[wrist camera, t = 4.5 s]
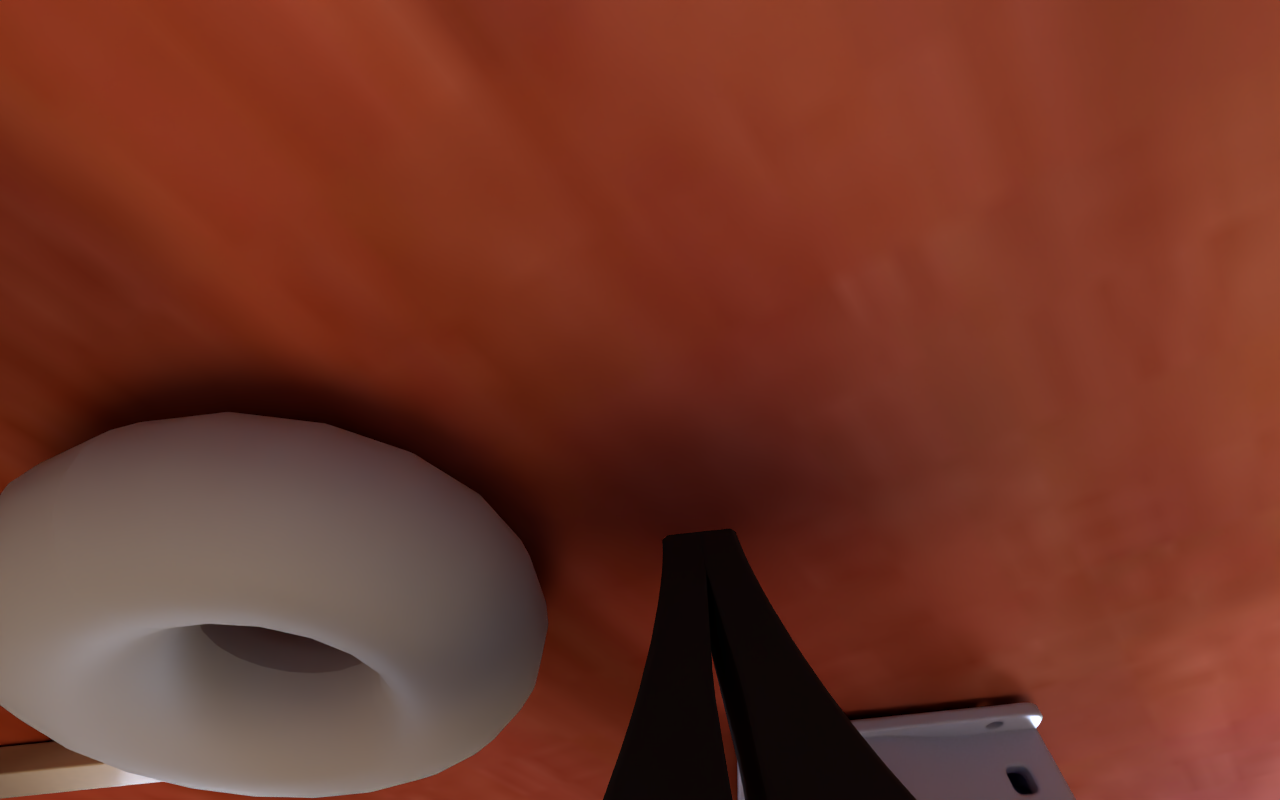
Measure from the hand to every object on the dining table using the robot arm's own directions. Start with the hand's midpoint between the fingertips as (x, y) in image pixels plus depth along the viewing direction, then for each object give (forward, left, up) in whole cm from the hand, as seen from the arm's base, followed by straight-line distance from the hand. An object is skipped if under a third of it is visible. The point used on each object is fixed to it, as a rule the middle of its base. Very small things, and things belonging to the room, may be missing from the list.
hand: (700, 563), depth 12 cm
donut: (+8, 0, -1) cm, 8 cm away
